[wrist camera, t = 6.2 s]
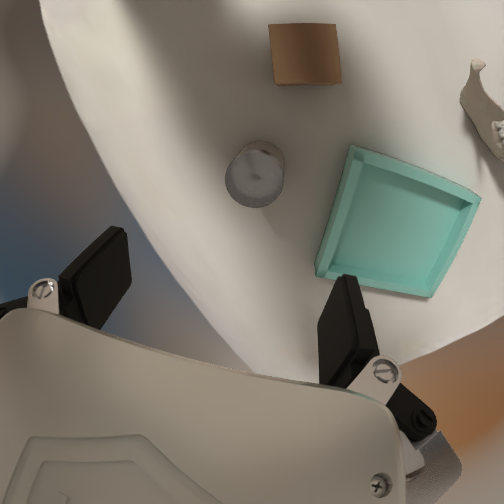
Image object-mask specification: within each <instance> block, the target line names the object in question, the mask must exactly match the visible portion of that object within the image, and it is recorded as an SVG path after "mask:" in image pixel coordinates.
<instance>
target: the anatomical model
mask: <svg viewBox="0 0 504 504" xmlns="http://www.w3.org/2000/svg"><path fill="white" fill-rule="evenodd" d="M485 66H486V64H485V62H484V61H482V60H480V59H473V60H472V61H471V67H470V76H469V79H468V81H467V83H466V86H465V87H464V88H463V89H462V91H461V94H460V96H461V97H460V103H461V104H462V106H463V108H464V110H465V111H466V113H467V114H468V116H469V117H470V118H471V120H472V121H473V123H474V125H475V127H476V129H477V131H478V133H479V135H480V137H481V138H482V140H483V141H484V142H485V143H486V145H487V146H488V147H489V148H490V150H491V151H492V152H493V154H494V155H495V156H496V157H497V158H498V159H500V160H501V161H502V162H504V127H503V126H504V124H503V123H502V121H503V120H504V109H503V108H502V107H501V106H500V105H498V104H497V103H496V102H495V101H494V100H493V99H492V98H491V97H490V96H489V95H488V94H487V93H486V91H485V90H484V88H483V85H482V83H481V81H480V76H479V72H480V71H481V70H482V69H483V68H484V67H485Z"/></svg>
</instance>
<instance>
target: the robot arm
mask: <svg viewBox="0 0 504 504" xmlns="http://www.w3.org/2000/svg"><path fill="white" fill-rule="evenodd" d="M131 282H132V277H131V269H130V260H129V251H128V241H127V233H126V232H124V229H123V228H120V227H115V226H110V227H109V228H108V229H107V230H106V231H105V232H104V233H102V234H101V235H100V236H99V237H98V238H97V239H96V240H95V241H94V242H93V243H92V244H91V245H89V246H88V247H87V248H86V249H85V250H84V251H83V252H82V253H81V254H80V255H79V256H78V257H77V258H76V259H75V260H74V261H73V262H72V263H71V264H70V265H69V266H68V267H67V268H66V269H65V270H64V271H63V272H62V273H61V274H60V275H59V281H58V282H56V281H55V280H53V279H49V278H46V279H41V280H38V281H37V282H35V283H34V284H33V285H32V286H31V287H30V289H29V292H28V296H27V297H23V298H19V299H16V300H12V301H9V302H6V303H2V304H0V504H434V503H435V502H436V501H437V500H438V499H439V498H440V497H441V496H442V495H443V494H444V493H445V492H446V491H447V490H448V489H449V488H450V487H451V486H452V485H453V484H454V483H455V482H456V481H457V480H458V478H459V477H460V475H461V472H462V464H461V462H460V460H459V458H458V457H457V455H456V453H455V452H454V450H453V449H452V447H451V446H450V444H449V443H448V441H447V440H446V438H445V437H444V435H443V434H442V432H441V431H439V432H437V431H436V429H435V428H436V426H437V420H436V416H435V414H434V412H433V411H432V410H431V409H430V408H429V407H428V406H427V405H426V404H425V403H423V402H422V401H421V400H420V399H419V398H418V397H416V396H415V395H414V394H413V393H412V392H410V391H409V390H408V389H407V388H406V387H405V386H403V385H402V384H401V383H400V382H401V379H402V372H401V369H400V367H399V365H398V364H397V363H396V362H395V361H394V360H393V359H391V358H389V357H386V356H380V353H379V349H378V345H377V340H376V336H375V332H374V328H373V324H372V320H371V316H370V312H369V310H368V309H366V308H365V305H364V301H363V297H362V294H361V290H360V286H359V283H358V279H357V277H356V276H353V275H348V274H343V275H342V276H338V277H337V279H336V282H335V284H334V286H333V289H332V291H331V294H330V296H329V298H328V301H327V303H326V305H325V307H324V310H323V312H322V314H321V316H320V319H319V321H318V326H317V332H318V353H319V384H316V383H309V382H302V381H296V380H289V379H284V378H278V377H272V376H266V375H260V374H255V373H250V372H245V371H240V370H235V369H231V368H226V367H221V366H217V365H213V364H209V363H205V362H201V361H196V360H193V359H189V358H185V357H182V356H178V355H174V354H171V353H167V352H164V351H160V350H157V349H154V348H151V347H147V346H144V345H141V344H138V343H135V342H132V341H129V340H126V339H123V338H120V337H117V336H115V335H112V334H109V333H106V332H103V331H101V330H100V329H101V328H102V326H103V325H104V323H105V322H106V320H107V319H108V317H109V316H110V314H111V313H112V311H113V310H114V309H115V307H116V306H117V304H118V303H119V301H120V300H121V298H122V297H123V296H124V294H125V293H126V291H127V290H128V289H129V287H130V285H131Z"/></svg>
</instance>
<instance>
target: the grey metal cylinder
mask: <svg viewBox="0 0 504 504" xmlns="http://www.w3.org/2000/svg"><path fill="white" fill-rule="evenodd" d="M283 177H284V159H283V156H282V154H281V152H280V151H279V150H278V149H277V148H276V147H275V146H274V145H272V144H270V143H267V142H262V141H258V142H253V143H250V144H248V145H246V146H245V147H244V148H243V149H242V150H241V151H240V153H239V154H238V155H237V156H236V157H235V159H234V160H233V161H232V162H231V164H230V165H229V167H228V169H227V171H226V175H225V183H226V187H227V190H228V192H229V194H230V195H231V197H232V198H233V199H234V200H235V201H237V202H238V203H240V204H242V205H244V206H247V207H252V208H258V207H264V206H267V205H269V204H271V203H272V202H273V201H275V200H276V199H277V197H278V196H279V194H280V193H281V190H282V187H283Z"/></svg>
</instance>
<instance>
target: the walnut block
mask: <svg viewBox="0 0 504 504" xmlns="http://www.w3.org/2000/svg"><path fill="white" fill-rule="evenodd" d="M268 27H269V35H270V44H271V53H272V62H273V72H274V82H275V84H276V85H277V86H282V85H334V84H339V83H342V82H341V69H340V58H339V48H338V39H337V31H336V24H320V23H291V24H270V25H268Z"/></svg>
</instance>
